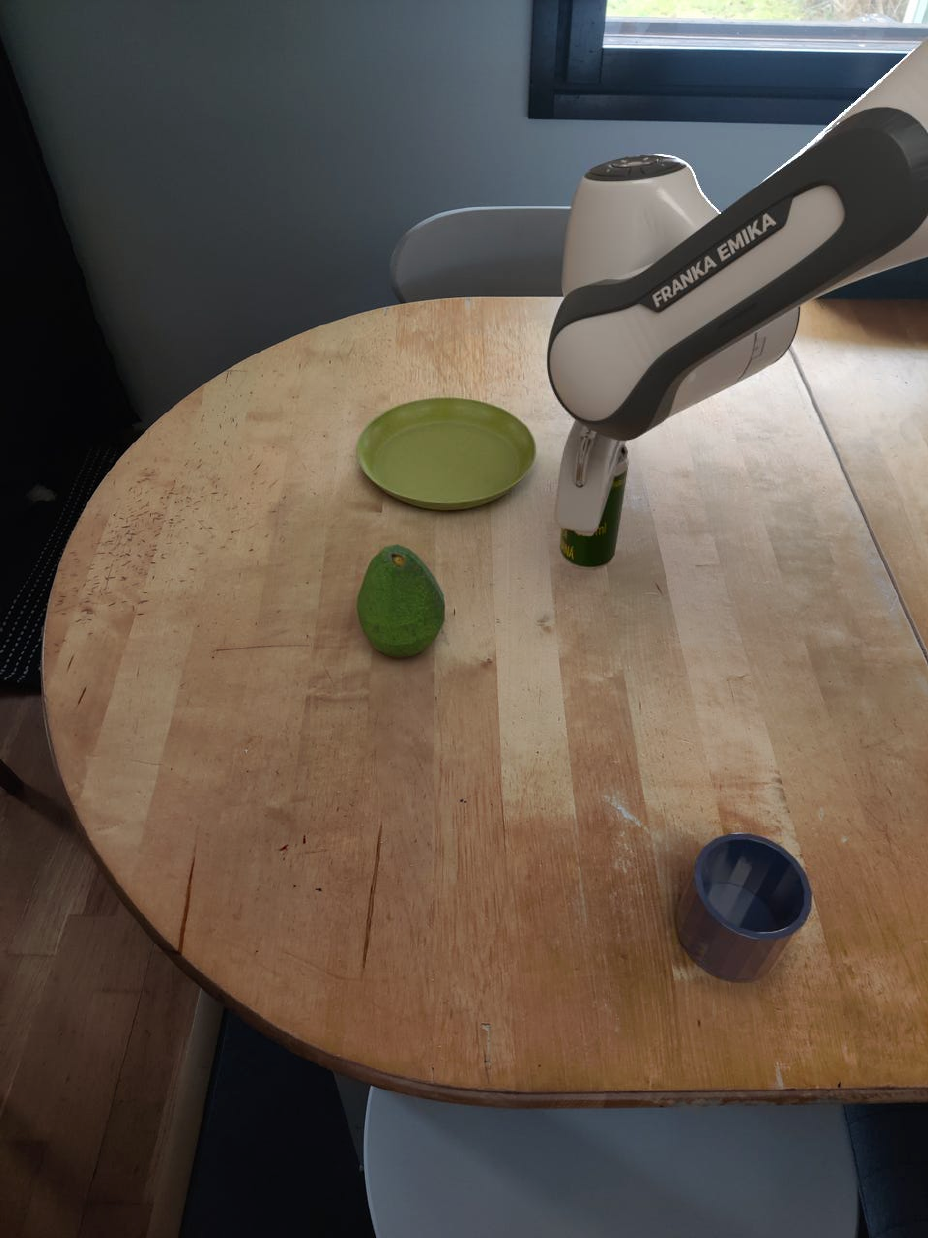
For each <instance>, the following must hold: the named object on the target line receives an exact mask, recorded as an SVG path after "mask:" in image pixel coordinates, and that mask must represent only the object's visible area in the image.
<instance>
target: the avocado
mask: <svg viewBox="0 0 928 1238" xmlns="http://www.w3.org/2000/svg"><path fill="white" fill-rule="evenodd" d="M356 611H357V617H358V622H359V625H360V627H361V629H362V632H363V633H364V635H365V636H366V638H367V641H369V643H370V644H371V646H373V647H374V649H376V650H378V651H379V652H381V653H382V654H384V655H386V656H389V657H394V658H398V659H400V658H408V657H412V656H415V655H417V654H420V653H421V652H423V651H425V650H426V649H428V648H429V647H430V646H431V645H432V644H433V643H434V641H436V638H437V637H438V635H439V633H440V631H441V629H442V627H443V625H444V623H445V621H446V620H445V617H446V603H445V595H444V593H443V590H442V589H441V587H440V584H439V582H438V581H437V579H436V577H435V575H434V574H433V572H432V571H431V569H429V566H427V565H426V563H425V562H424V561H423V560H422V559H421V558H420V557H419V556H418V555H417V553H415V552H413V550H411V549H410V548H408V547H406V546H402V545H400V544H394V545H392V544H391V545H389V546H384V547H383V548H382V549H381V550H380V551H379V552H377V554H375V556H374V557H373V558H372V559H371V561H369V564H368V566H367V568H366V571H365V574H364V577H363V580H362V583H361V586H360V588H359V591H358V595H357V600H356Z"/></svg>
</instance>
